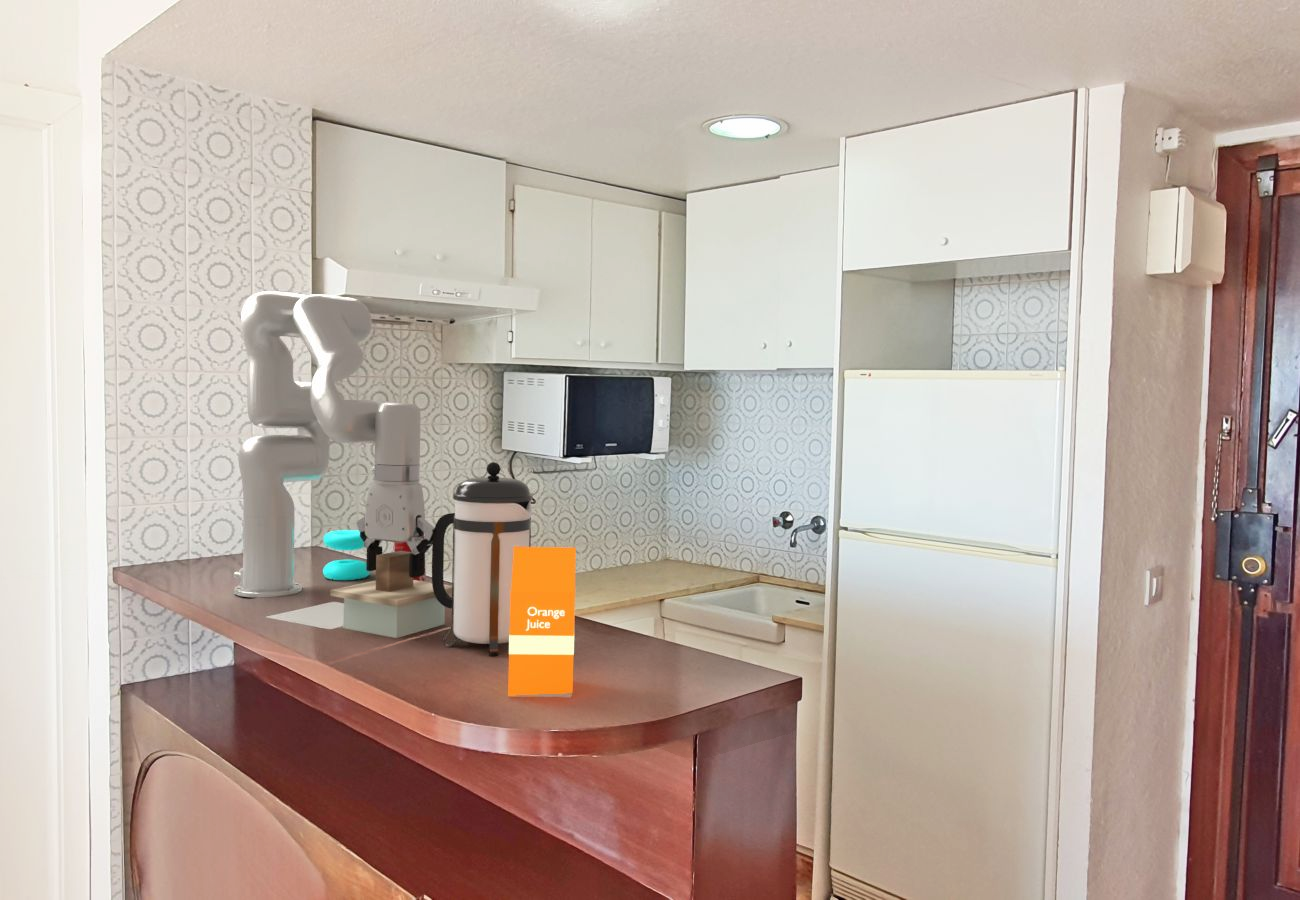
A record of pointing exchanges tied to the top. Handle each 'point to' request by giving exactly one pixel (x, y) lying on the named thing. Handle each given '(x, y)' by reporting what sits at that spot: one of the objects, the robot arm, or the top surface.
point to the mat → (316, 616)
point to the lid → (390, 584)
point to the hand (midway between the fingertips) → (395, 573)
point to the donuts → (346, 567)
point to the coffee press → (482, 556)
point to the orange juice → (542, 621)
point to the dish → (393, 617)
